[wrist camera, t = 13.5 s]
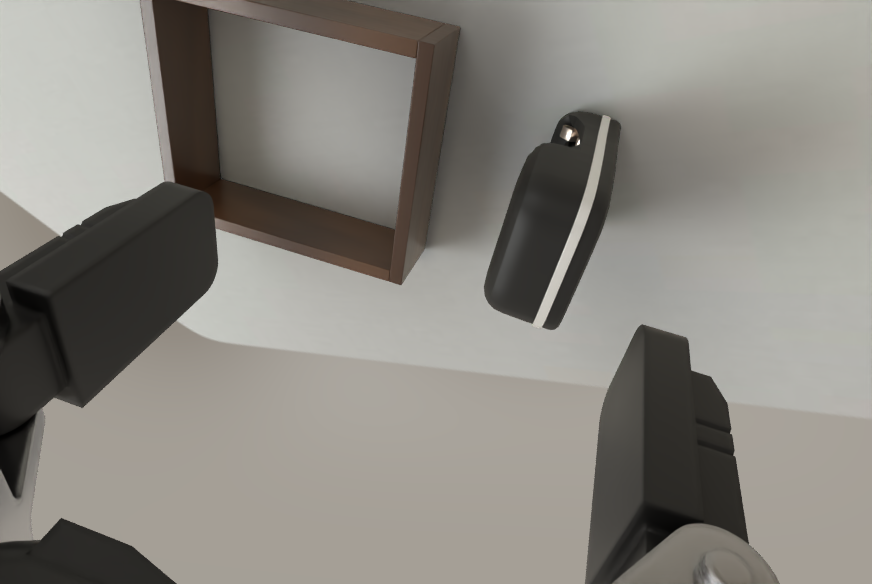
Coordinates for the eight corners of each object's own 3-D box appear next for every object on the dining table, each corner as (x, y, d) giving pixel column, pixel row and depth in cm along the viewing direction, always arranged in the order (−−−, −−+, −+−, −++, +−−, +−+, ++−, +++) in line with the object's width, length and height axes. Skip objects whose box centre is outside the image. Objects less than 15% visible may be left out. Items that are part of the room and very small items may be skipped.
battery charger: (553, 93, 31) (511, 178, 22) (625, 115, 30) (612, 211, 21) (515, 209, 35) (466, 320, 26) (577, 230, 35) (550, 351, 26)
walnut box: (211, 186, 41) (168, 214, 37) (192, -36, 33) (135, -27, 29) (425, 248, 38) (401, 285, 35) (460, 26, 30) (434, 44, 27)
